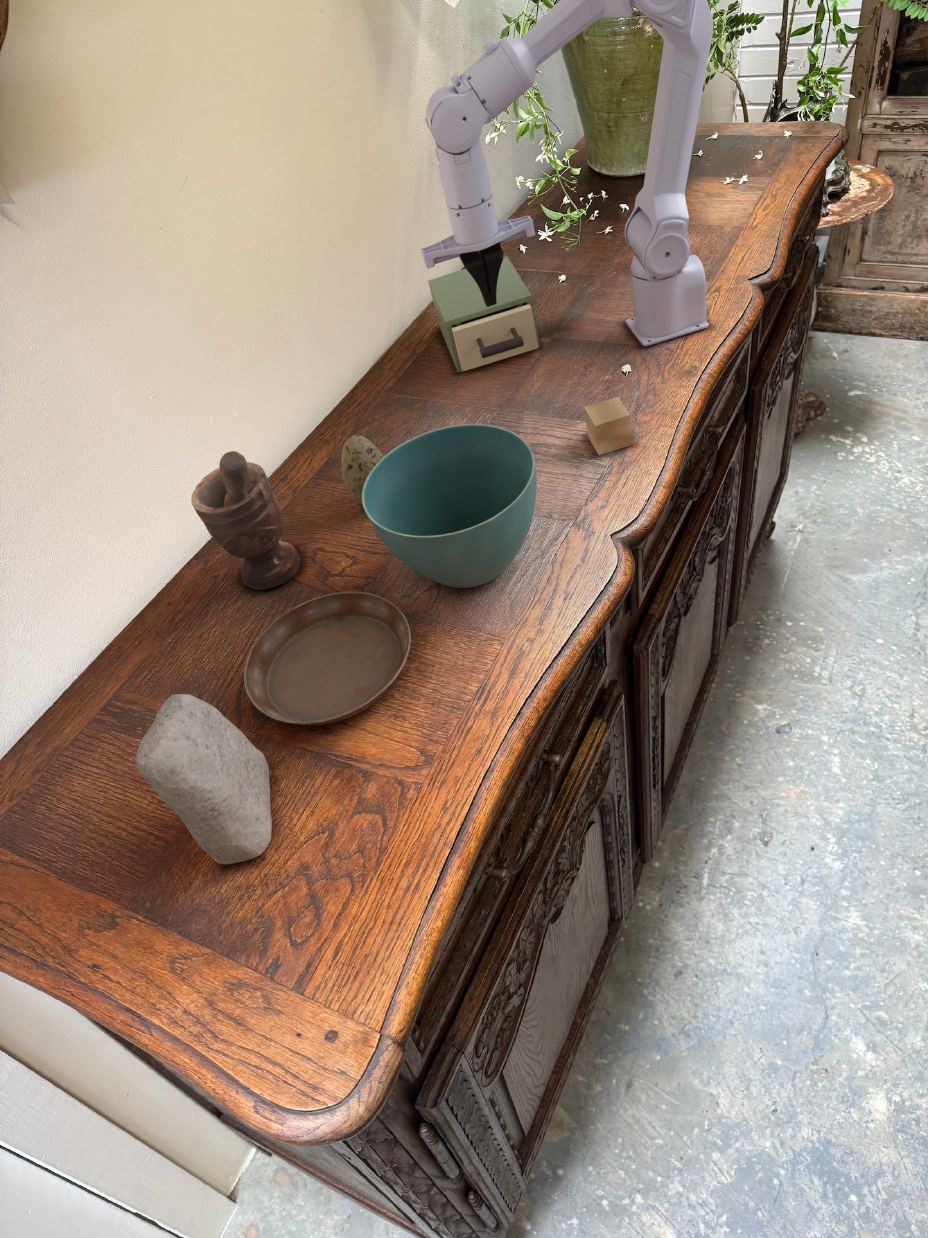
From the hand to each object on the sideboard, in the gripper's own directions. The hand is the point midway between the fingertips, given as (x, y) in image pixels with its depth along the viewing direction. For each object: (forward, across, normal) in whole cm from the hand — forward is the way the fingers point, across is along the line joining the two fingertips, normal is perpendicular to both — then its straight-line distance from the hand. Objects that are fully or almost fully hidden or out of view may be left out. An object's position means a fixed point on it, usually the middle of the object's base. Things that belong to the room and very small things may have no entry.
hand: (490, 302), depth 113 cm
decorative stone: (+11, +40, +62) cm, 74 cm away
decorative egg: (+11, +22, +22) cm, 33 cm away
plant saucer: (+11, +30, +48) cm, 57 cm away
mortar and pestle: (+11, +35, +30) cm, 47 cm away
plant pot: (+11, +13, +38) cm, 41 cm away
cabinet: (+10, 0, -10) cm, 15 cm away
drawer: (+9, 0, -6) cm, 11 cm away
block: (+10, -8, +24) cm, 27 cm away
